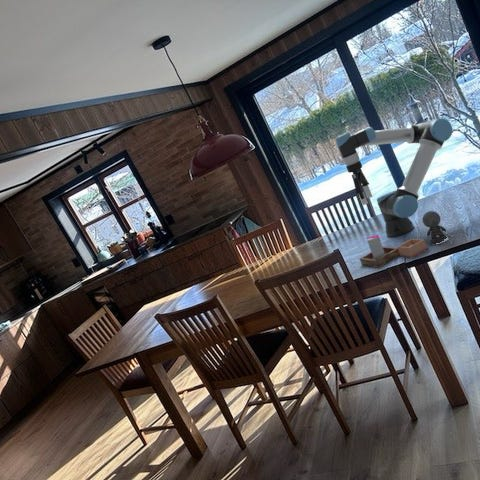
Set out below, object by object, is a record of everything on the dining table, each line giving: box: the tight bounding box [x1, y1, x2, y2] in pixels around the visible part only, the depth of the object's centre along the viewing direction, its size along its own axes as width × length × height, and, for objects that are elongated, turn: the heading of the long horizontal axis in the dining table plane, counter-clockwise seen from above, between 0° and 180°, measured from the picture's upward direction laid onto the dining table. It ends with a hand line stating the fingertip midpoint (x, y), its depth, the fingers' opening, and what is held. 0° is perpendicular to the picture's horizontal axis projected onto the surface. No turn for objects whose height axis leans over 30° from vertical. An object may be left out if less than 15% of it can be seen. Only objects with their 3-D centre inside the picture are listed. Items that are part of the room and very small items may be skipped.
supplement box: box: [366, 234, 385, 260], centre depth 217 cm, size 6×6×12 cm
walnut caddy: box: [359, 245, 400, 268], centre depth 218 cm, size 14×14×4 cm
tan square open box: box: [396, 238, 428, 259], centre depth 208 cm, size 9×9×5 cm
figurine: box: [422, 210, 447, 244], centre depth 207 cm, size 9×10×15 cm
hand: (367, 200), depth 229 cm, fingers open, 13 cm apart
